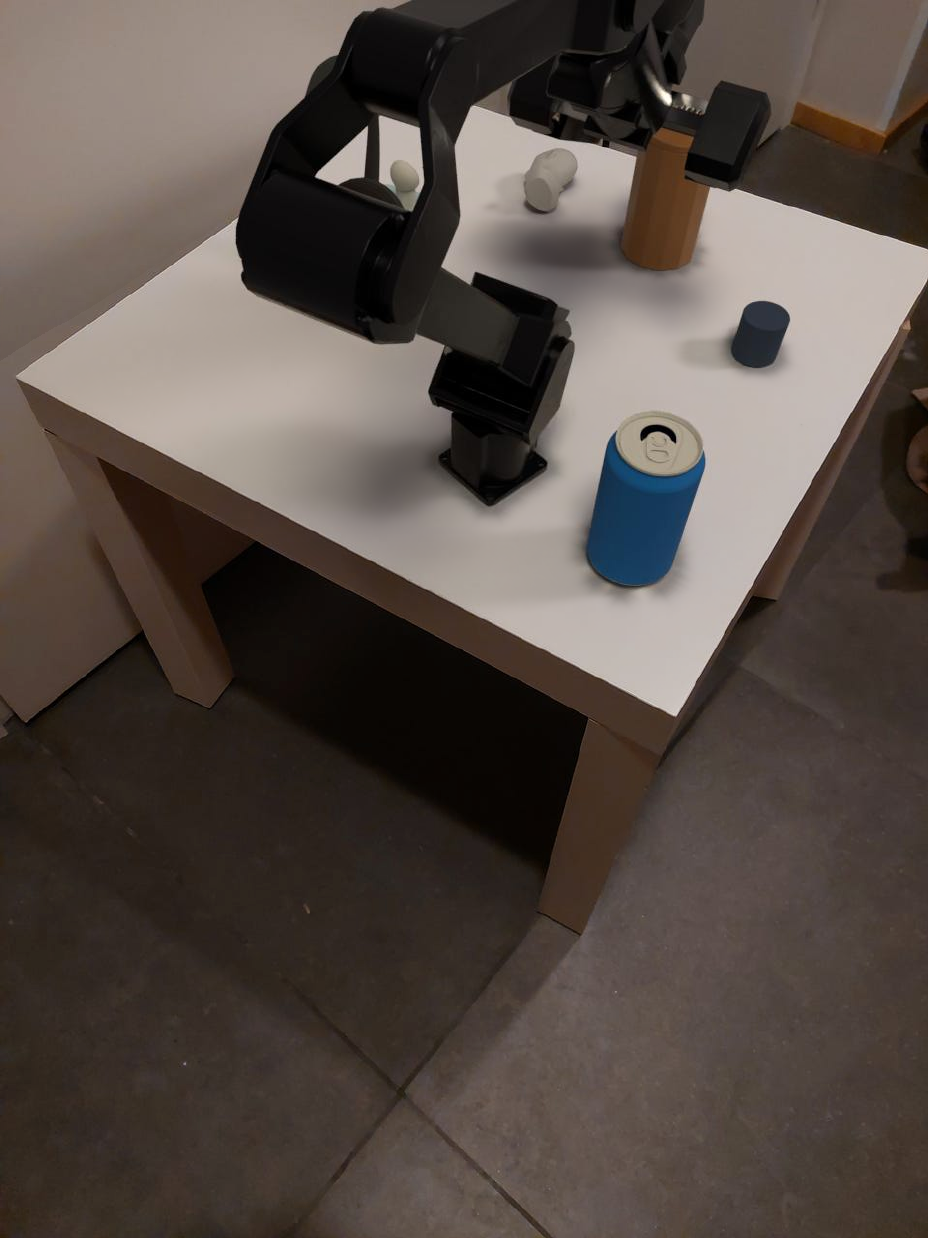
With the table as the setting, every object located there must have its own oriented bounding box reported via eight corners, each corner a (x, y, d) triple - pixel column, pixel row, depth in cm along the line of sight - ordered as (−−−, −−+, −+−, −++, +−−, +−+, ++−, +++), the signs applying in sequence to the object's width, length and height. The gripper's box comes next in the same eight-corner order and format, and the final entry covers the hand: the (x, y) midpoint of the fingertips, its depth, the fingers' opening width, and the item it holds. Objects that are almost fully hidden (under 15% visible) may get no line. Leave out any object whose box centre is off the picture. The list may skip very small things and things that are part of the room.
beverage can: (670, 527, 69) (707, 409, 59) (673, 595, 66) (713, 483, 56) (586, 520, 69) (609, 402, 59) (584, 587, 66) (608, 474, 56)
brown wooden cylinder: (660, 279, 86) (691, 141, 75) (607, 245, 89) (629, 108, 78) (707, 250, 89) (744, 114, 78) (654, 219, 92) (682, 82, 81)
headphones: (424, 256, 88) (418, 30, 71) (362, 350, 80) (340, 121, 63) (344, 237, 89) (320, 11, 73) (275, 327, 82) (231, 98, 65)
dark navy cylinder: (757, 374, 79) (770, 336, 76) (721, 350, 81) (733, 313, 77) (785, 354, 81) (799, 316, 77) (750, 331, 82) (762, 294, 79)
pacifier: (393, 191, 94) (365, 220, 91) (391, 130, 89) (361, 158, 86) (456, 210, 92) (430, 239, 89) (457, 148, 87) (430, 177, 84)
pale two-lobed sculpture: (542, 181, 97) (586, 178, 95) (512, 218, 93) (557, 216, 91) (534, 139, 94) (579, 136, 92) (502, 175, 90) (549, 173, 88)
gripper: (809, -37, 55) (804, 80, 70) (537, -101, 60) (586, 21, 75) (729, 150, 58) (741, 225, 72) (475, 74, 63) (534, 158, 77)
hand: (650, 152), depth 74 cm, fingers open, 9 cm apart
